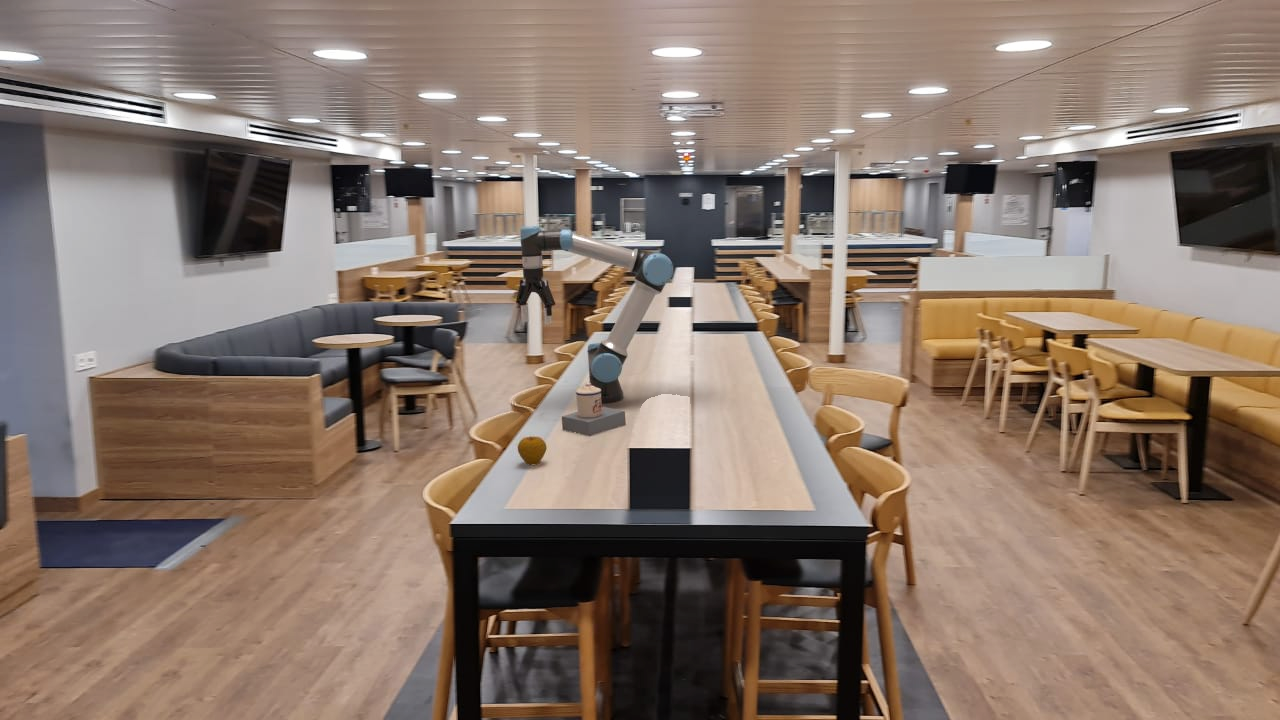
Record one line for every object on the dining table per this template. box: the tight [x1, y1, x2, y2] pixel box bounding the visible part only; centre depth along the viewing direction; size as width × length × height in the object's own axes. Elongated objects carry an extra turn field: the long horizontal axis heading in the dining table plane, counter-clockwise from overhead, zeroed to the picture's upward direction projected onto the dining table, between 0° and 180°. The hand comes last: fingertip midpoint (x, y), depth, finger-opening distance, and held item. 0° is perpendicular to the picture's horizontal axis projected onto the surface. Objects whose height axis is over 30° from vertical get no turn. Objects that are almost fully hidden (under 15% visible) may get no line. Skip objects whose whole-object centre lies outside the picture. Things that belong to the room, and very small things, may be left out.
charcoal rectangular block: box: [561, 406, 626, 437], centre depth 316 cm, size 18×14×5 cm
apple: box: [517, 435, 548, 466], centre depth 276 cm, size 9×9×9 cm
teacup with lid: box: [575, 382, 603, 418], centre depth 314 cm, size 12×9×12 cm
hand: (536, 323), depth 336 cm, fingers open, 13 cm apart
